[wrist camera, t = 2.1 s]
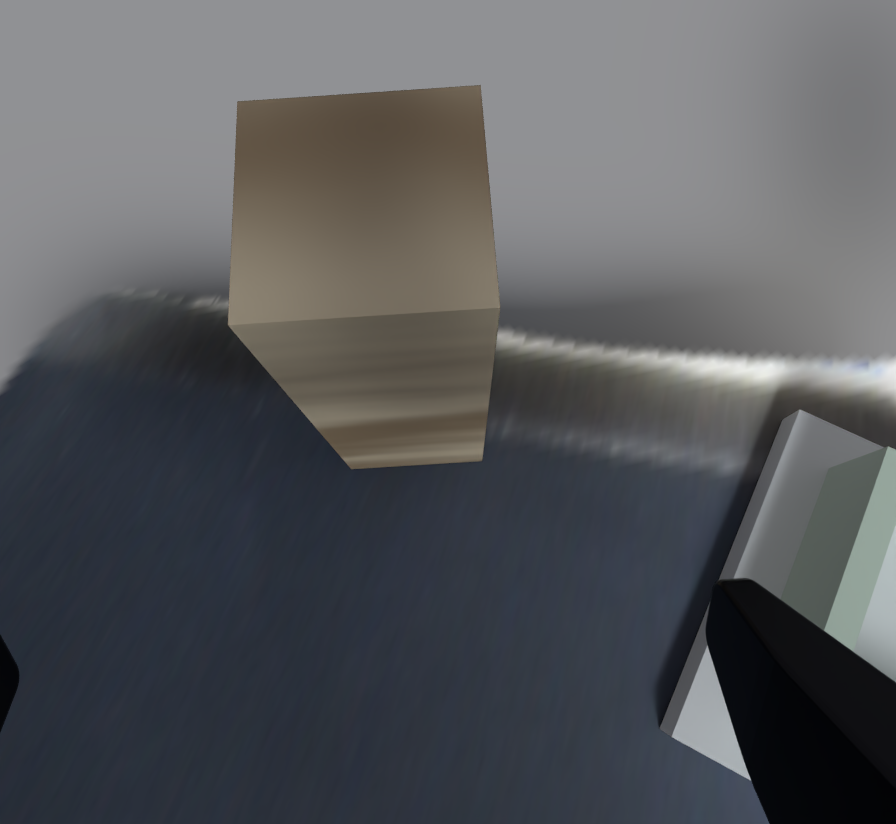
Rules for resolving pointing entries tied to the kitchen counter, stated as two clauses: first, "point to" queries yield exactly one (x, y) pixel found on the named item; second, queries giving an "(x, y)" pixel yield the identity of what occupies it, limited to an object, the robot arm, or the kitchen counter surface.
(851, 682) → the robot arm
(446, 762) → the kitchen counter surface
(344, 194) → the brown box
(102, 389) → the kitchen counter surface
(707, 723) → the caddy
